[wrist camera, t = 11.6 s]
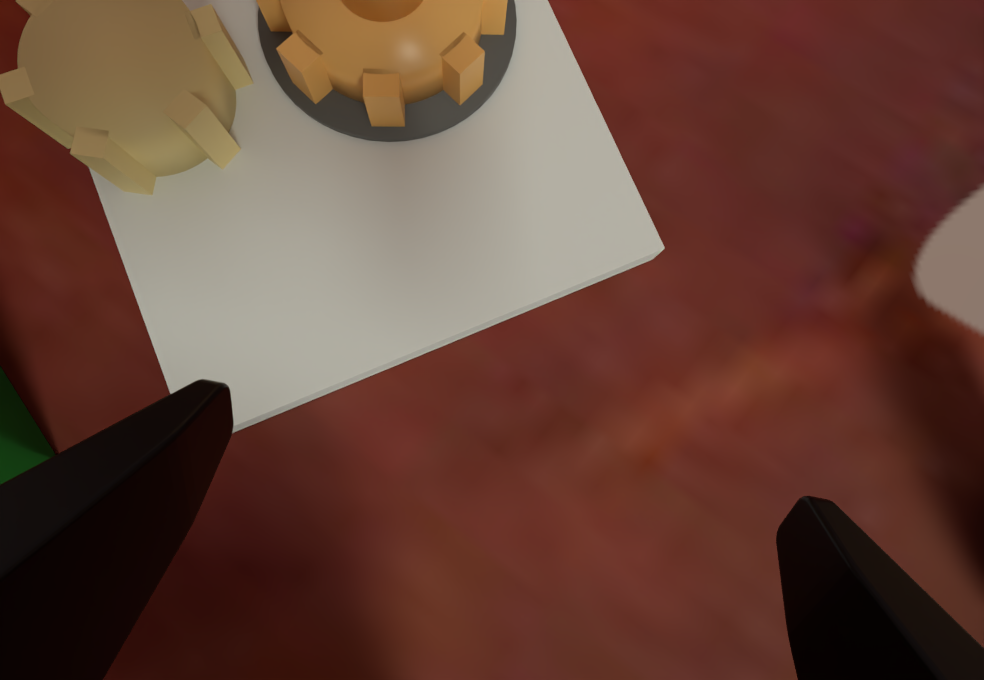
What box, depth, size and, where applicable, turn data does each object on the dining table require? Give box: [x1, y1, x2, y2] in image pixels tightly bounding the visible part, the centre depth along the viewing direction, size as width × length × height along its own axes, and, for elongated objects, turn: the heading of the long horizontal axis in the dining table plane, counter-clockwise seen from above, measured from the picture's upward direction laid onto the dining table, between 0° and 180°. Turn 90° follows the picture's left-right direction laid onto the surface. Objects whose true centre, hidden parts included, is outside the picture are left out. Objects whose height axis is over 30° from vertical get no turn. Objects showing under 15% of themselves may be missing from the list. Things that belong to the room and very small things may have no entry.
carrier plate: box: [0, 0, 665, 433], centre depth 21 cm, size 18×18×4 cm
